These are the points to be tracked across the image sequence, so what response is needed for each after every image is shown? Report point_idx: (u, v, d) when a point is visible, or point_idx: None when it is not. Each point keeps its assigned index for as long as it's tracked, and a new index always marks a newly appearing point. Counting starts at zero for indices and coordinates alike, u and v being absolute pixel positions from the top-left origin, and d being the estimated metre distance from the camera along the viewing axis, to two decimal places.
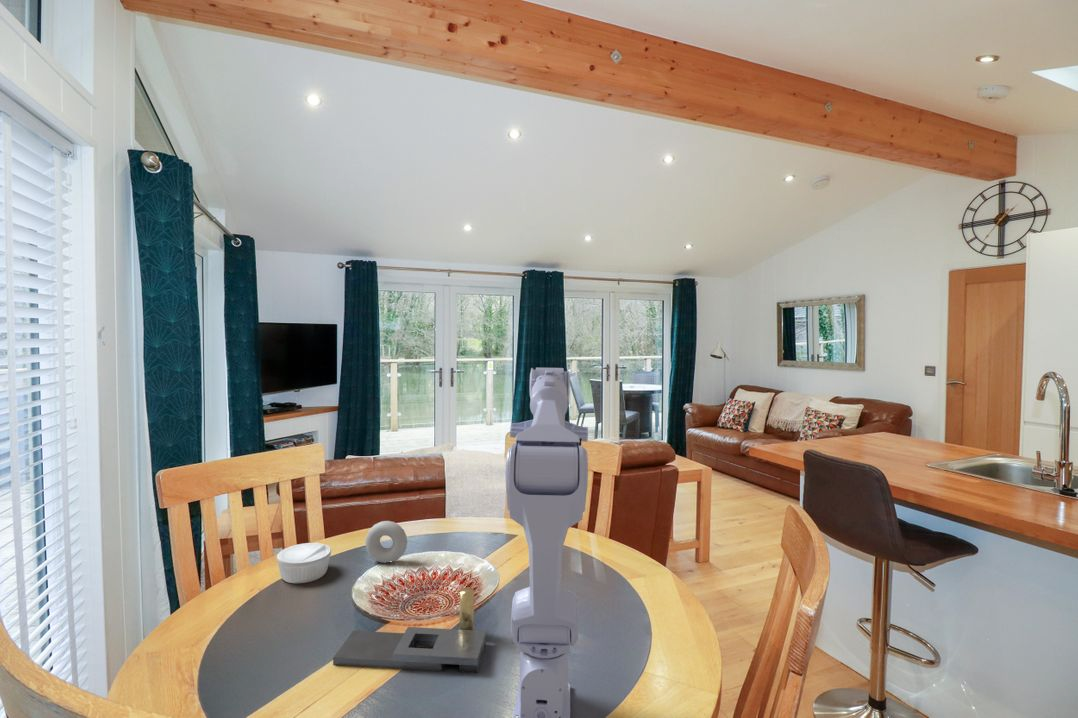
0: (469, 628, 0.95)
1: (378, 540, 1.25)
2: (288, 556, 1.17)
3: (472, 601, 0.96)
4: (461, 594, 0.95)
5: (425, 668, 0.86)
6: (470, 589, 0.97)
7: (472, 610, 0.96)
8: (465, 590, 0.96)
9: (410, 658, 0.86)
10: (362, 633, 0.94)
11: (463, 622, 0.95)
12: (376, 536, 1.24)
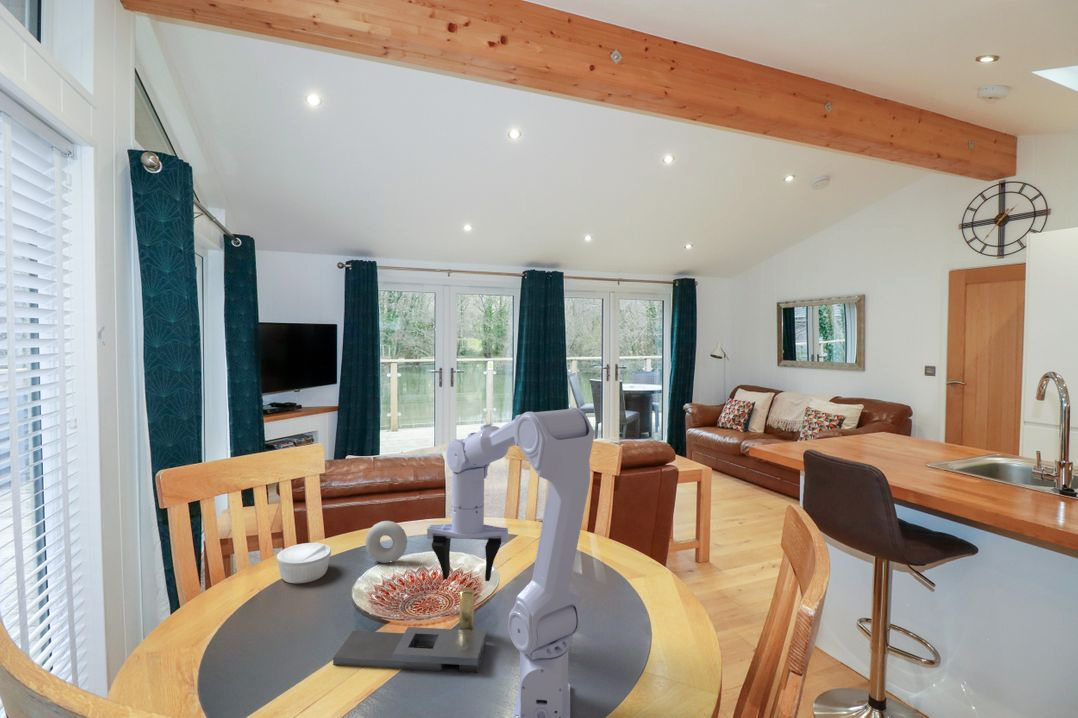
0: (469, 628, 0.95)
1: (378, 540, 1.25)
2: (288, 556, 1.17)
3: (472, 601, 0.96)
4: (461, 594, 0.95)
5: (425, 668, 0.86)
6: (470, 589, 0.97)
7: (472, 610, 0.96)
8: (465, 590, 0.96)
9: (410, 658, 0.86)
10: (362, 633, 0.94)
11: (463, 622, 0.95)
12: (376, 536, 1.24)
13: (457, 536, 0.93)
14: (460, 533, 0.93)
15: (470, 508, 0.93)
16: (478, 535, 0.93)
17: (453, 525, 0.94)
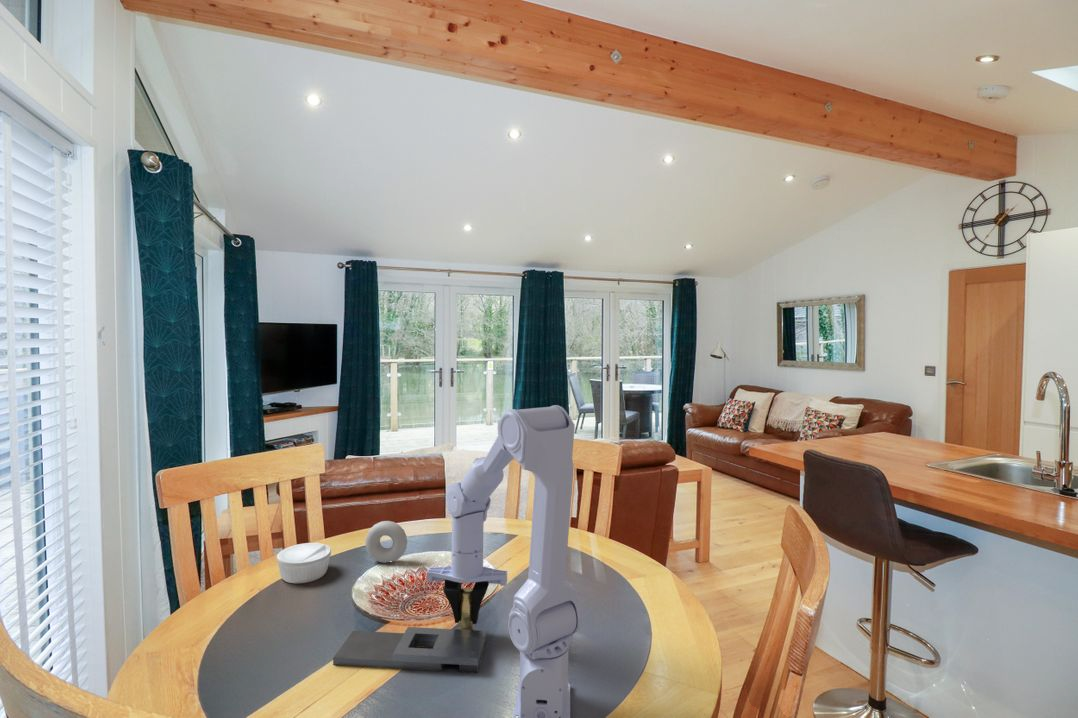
0: (469, 628, 0.95)
1: (378, 540, 1.25)
2: (288, 556, 1.17)
3: (472, 601, 0.96)
4: (461, 594, 0.95)
5: (425, 668, 0.86)
6: (470, 589, 0.97)
7: (472, 610, 0.96)
8: (465, 590, 0.96)
9: (410, 658, 0.86)
10: (362, 633, 0.94)
11: (463, 622, 0.95)
12: (376, 536, 1.24)
13: (456, 580, 0.93)
14: (459, 577, 0.93)
15: (469, 553, 0.93)
16: (477, 580, 0.94)
17: (452, 569, 0.95)
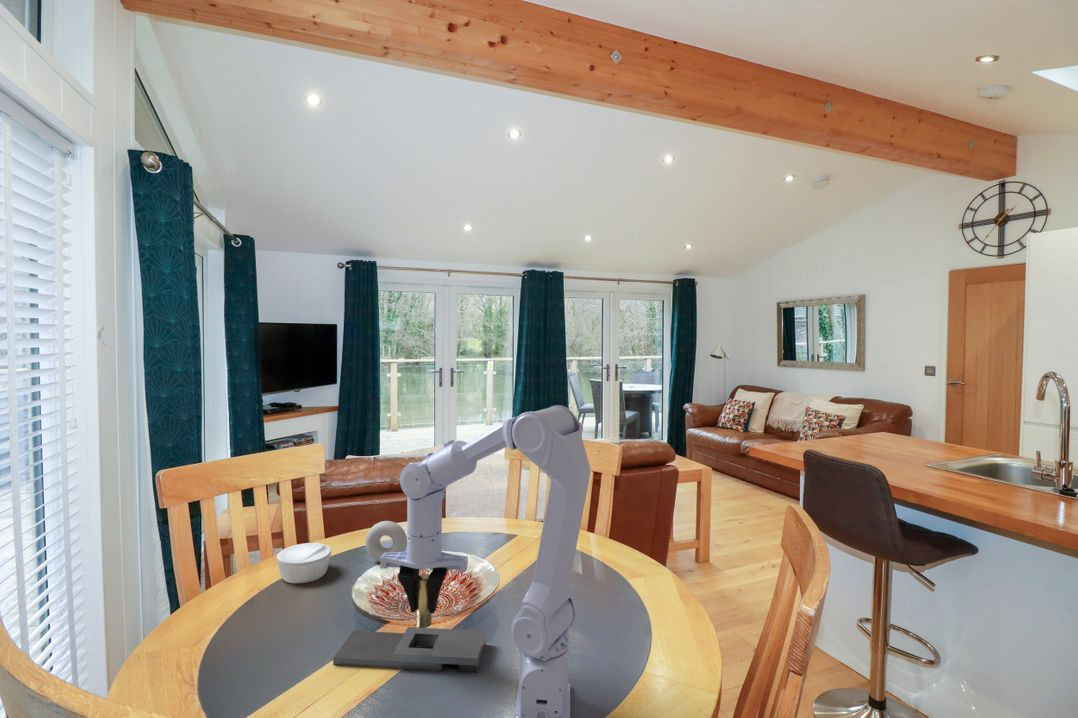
0: (426, 618, 0.89)
1: (378, 540, 1.25)
2: (288, 556, 1.17)
3: (429, 589, 0.89)
4: (417, 581, 0.89)
5: (425, 668, 0.86)
6: None
7: (429, 599, 0.89)
8: (422, 577, 0.90)
9: (410, 658, 0.86)
10: (362, 633, 0.94)
11: (419, 611, 0.89)
12: (376, 536, 1.24)
13: (411, 566, 0.87)
14: (415, 563, 0.87)
15: (425, 536, 0.86)
16: (434, 565, 0.87)
17: (408, 554, 0.88)
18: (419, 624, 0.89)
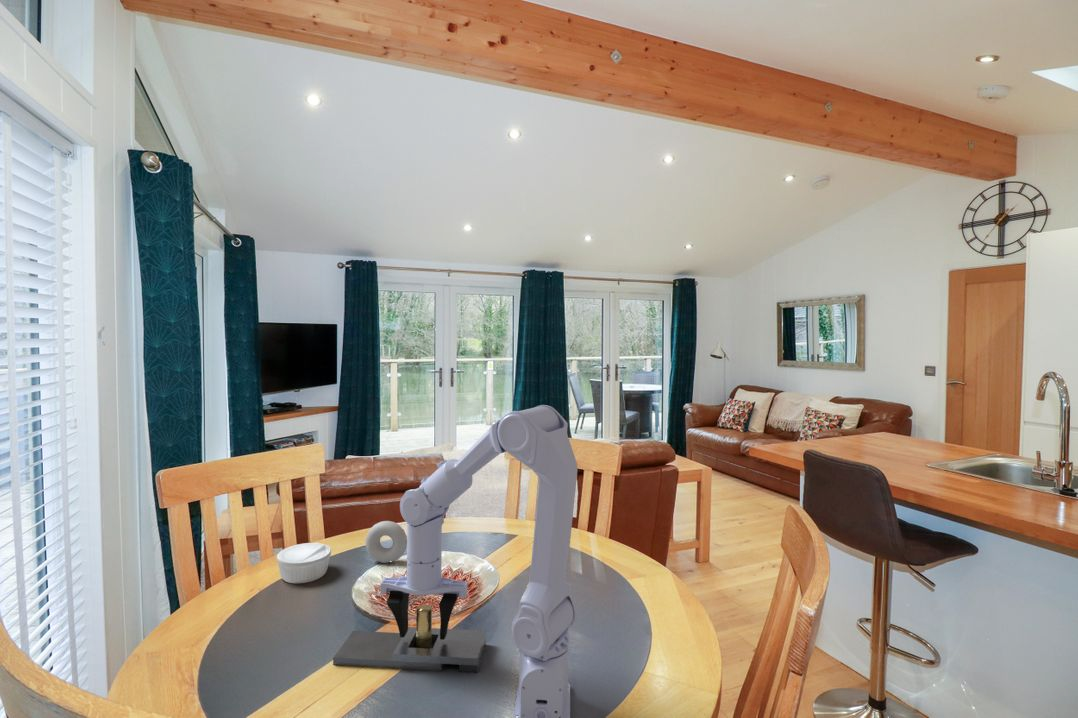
0: None
1: (378, 540, 1.25)
2: (288, 556, 1.17)
3: (429, 620, 0.89)
4: (417, 612, 0.89)
5: (425, 668, 0.86)
6: (428, 607, 0.90)
7: (429, 629, 0.89)
8: (422, 608, 0.90)
9: (410, 658, 0.86)
10: (362, 633, 0.94)
11: (419, 642, 0.89)
12: (376, 536, 1.24)
13: (411, 592, 0.87)
14: (414, 589, 0.87)
15: (425, 563, 0.87)
16: (434, 592, 0.87)
17: (408, 580, 0.88)
18: None
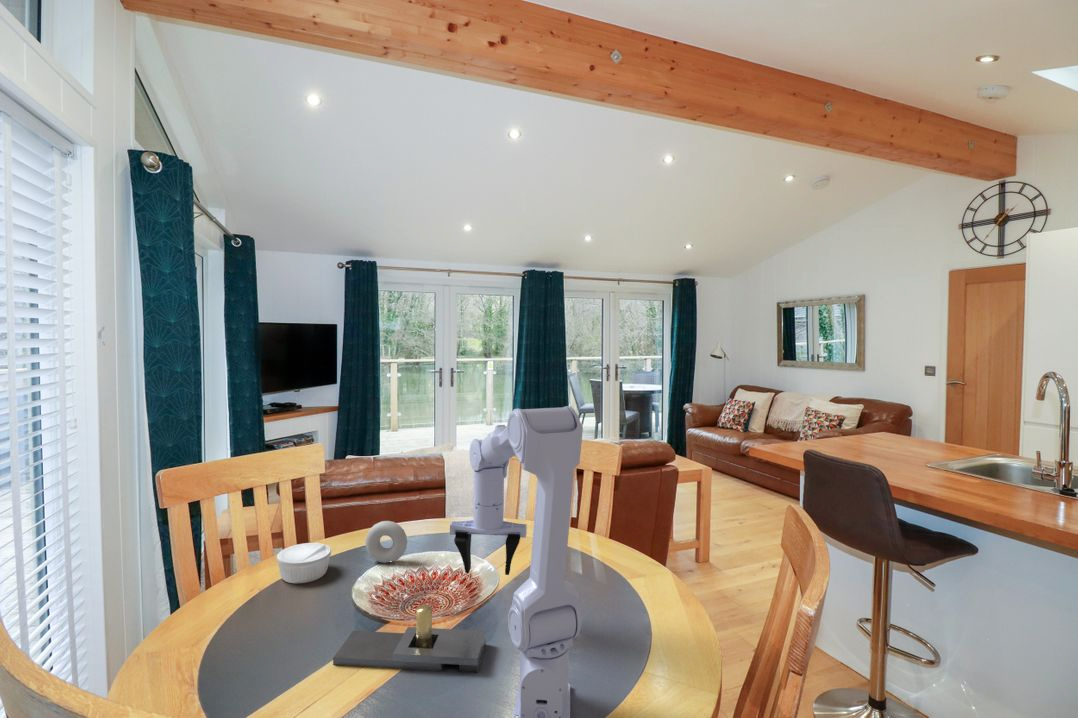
0: None
1: (378, 540, 1.25)
2: (288, 556, 1.17)
3: (429, 620, 0.89)
4: (417, 612, 0.89)
5: (425, 668, 0.86)
6: (428, 607, 0.90)
7: (429, 629, 0.89)
8: (422, 608, 0.90)
9: (410, 658, 0.86)
10: (362, 633, 0.94)
11: (419, 642, 0.89)
12: (376, 536, 1.24)
13: (479, 532, 0.98)
14: (481, 529, 0.98)
15: (491, 505, 0.98)
16: (499, 531, 0.98)
17: (475, 521, 0.99)
18: None
